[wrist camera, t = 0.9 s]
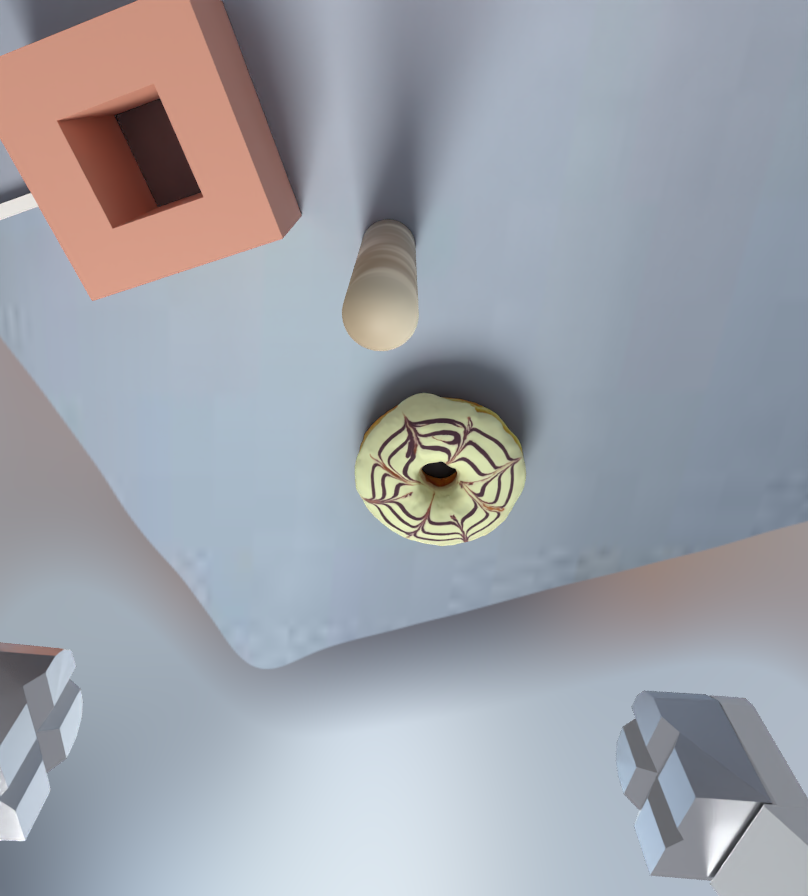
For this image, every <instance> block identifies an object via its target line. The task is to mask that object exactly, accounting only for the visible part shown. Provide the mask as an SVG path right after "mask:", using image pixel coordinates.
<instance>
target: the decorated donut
mask: <svg viewBox="0 0 808 896" xmlns="http://www.w3.org/2000/svg"><path fill="white" fill-rule="evenodd" d="M440 461H441V462H444V463H445V464H447V465H448V466H450V467H452V468H455V469H456V472H455V473H453V474H452V475H451V476H448V477H446V478H442V479H440V478H434V477H432V476H429V475H427V474H425V472H423V470H422V467H423V466H424V465H426V464H429V463H435V462H440ZM525 479H526V469H525V462H524V459H523V453H522V447H521V444H520V442H519V440H518V439H517V437H516V436H515V435H514V434H513V433H512V432H511V431H510V430H509V429H508V427H507V426H506V425H505V423H504V422H503V421H502V420H501V419H500V417H499V416H498V415H497V414H496V413H494V412H493V411H491V410H489V409H487V408H485V407H483V406H482V405H479V404H477V403H474V402H471V401H466V400H463V399H457V398H445V397H439V396H436V395H434V394H429V393H419V394H415V395H413V396H410V397H408V398H407V399H405V400H404V401H402V402H401V403H400V404H399V405H397V406H395V407H394V408H393V409H391V410H389V411H388V412H386V413H385V414H384V415H382V416H380V418H379V419H377V420H376V421H375V422H374V423H373V424H372V425H371V427H370V428H369V429H368V431H367V432H366V433H365V434H364V439H363V441H362V443H361V446H360V451H359V454H358V456H357V459H356V464H355V482H356V489H357V491H358V492H359V494H360V496H361V498H362V499H363V501H364V503H365V505H366V507H367V508H368V509H369V511H370V512H371V513H372V514H373V515H374V516H375V517H376V518H377V519H378V520H379V521H380V522H382V523H383V524H384V525H385V526H387V527H388V528H389V529H391V530H392V531H394V532H396V533H397V534H399V535H401V536H403V537H405V538H407V539H410V540H415V541H418V542H421V543H426V544H434V545H439V546H446V545H455V544H458V543H462V542H468V541H472V540H474V539H476V538H479V537H481V536H484V535H487V534H488V533H489V532H491V531H493V530H494V529H495V528H496V527H497V526H499V525H500V524H501V523H502V522H503V521H504V520H505V519H506V518H507V516H508V514H509V513H510V511H511V510H512V508H513V506H514V504H515V502H516V501H517V499H518V497H519V496H520V494H521V493H522V490H523V488H524V484H525Z"/></svg>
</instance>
